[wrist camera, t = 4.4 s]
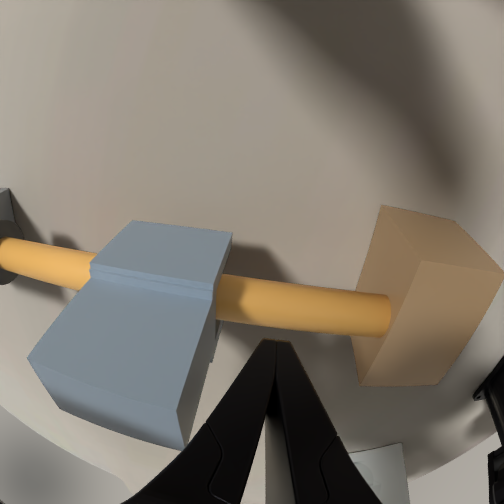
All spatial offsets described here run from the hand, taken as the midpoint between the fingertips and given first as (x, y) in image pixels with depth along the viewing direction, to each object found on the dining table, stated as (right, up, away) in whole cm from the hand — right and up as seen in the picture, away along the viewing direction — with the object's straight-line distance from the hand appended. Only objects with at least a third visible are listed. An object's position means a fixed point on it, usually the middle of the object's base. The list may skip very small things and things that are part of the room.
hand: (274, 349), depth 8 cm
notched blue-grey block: (-3, +2, +3) cm, 5 cm away
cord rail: (-6, +4, +5) cm, 9 cm away
